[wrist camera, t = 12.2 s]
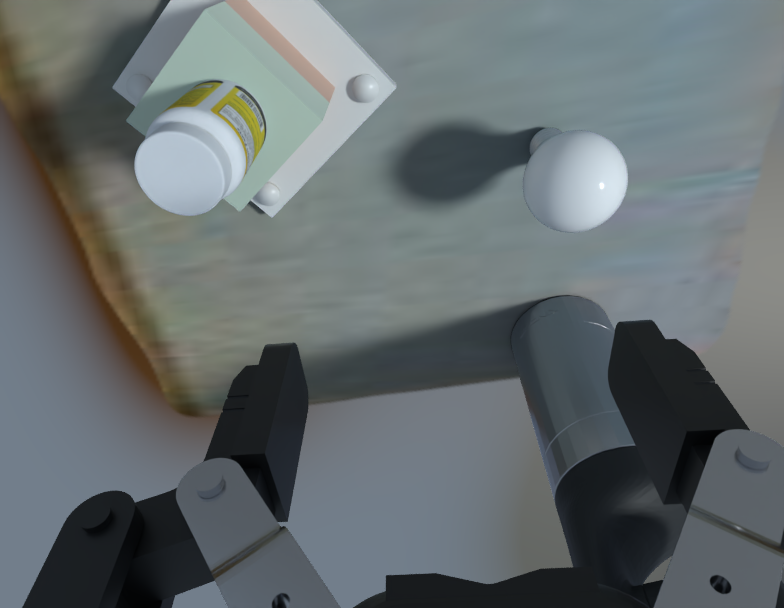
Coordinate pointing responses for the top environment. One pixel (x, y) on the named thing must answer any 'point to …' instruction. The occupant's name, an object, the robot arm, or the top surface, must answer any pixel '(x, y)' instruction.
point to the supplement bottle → (201, 147)
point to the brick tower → (262, 81)
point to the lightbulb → (574, 179)
